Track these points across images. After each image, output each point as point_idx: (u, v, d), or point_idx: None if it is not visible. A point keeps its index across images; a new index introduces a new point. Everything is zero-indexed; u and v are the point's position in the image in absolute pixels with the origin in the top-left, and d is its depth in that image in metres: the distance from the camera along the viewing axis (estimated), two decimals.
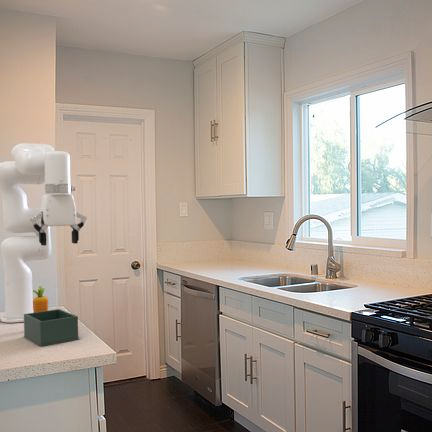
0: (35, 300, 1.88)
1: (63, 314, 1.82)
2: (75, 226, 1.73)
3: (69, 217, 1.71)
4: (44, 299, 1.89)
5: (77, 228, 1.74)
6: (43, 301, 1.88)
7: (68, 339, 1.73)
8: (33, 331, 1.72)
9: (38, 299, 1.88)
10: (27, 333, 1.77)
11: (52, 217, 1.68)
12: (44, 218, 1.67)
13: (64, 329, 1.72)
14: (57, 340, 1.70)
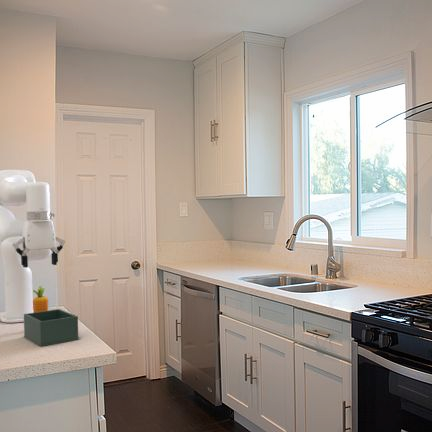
0: (35, 300, 1.88)
1: (63, 314, 1.82)
2: (54, 249, 1.91)
3: (49, 241, 1.89)
4: (44, 299, 1.89)
5: (56, 251, 1.92)
6: (43, 301, 1.88)
7: (68, 339, 1.73)
8: (33, 331, 1.72)
9: (38, 299, 1.88)
10: (27, 333, 1.77)
11: (33, 242, 1.86)
12: (25, 243, 1.85)
13: (64, 329, 1.72)
14: (57, 340, 1.70)
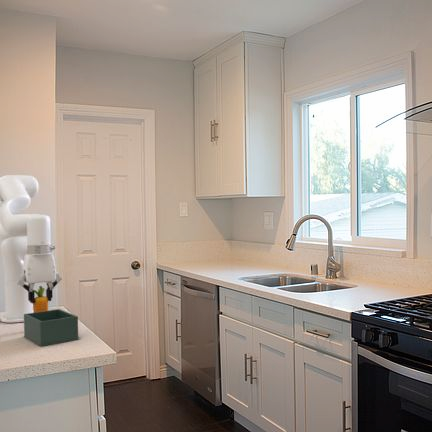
0: (35, 300, 1.88)
1: (63, 314, 1.82)
2: (50, 284, 1.91)
3: (49, 274, 1.90)
4: (44, 299, 1.89)
5: (51, 287, 1.91)
6: (43, 301, 1.88)
7: (68, 339, 1.73)
8: (33, 331, 1.72)
9: (38, 299, 1.88)
10: (27, 333, 1.77)
11: (33, 275, 1.86)
12: (26, 276, 1.85)
13: (64, 329, 1.72)
14: (57, 340, 1.70)
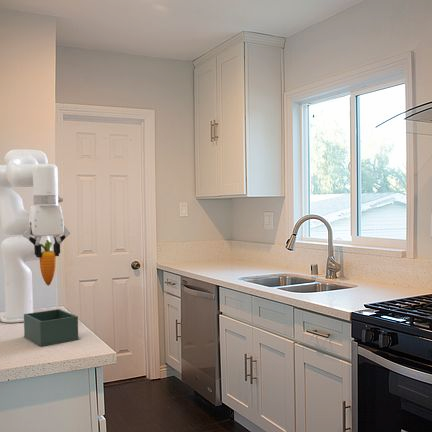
0: (42, 254, 1.76)
1: (63, 314, 1.82)
2: (58, 238, 1.79)
3: (57, 227, 1.78)
4: (51, 253, 1.77)
5: (59, 241, 1.79)
6: (50, 255, 1.76)
7: (68, 339, 1.73)
8: (33, 331, 1.72)
9: (45, 253, 1.76)
10: (27, 333, 1.77)
11: (40, 227, 1.74)
12: (32, 228, 1.73)
13: (64, 329, 1.72)
14: (57, 340, 1.70)
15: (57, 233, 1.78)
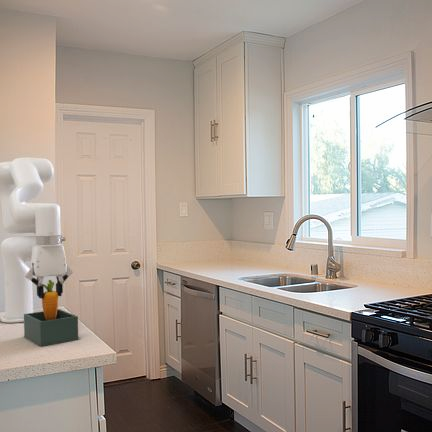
0: (44, 295, 1.74)
1: (63, 314, 1.82)
2: (60, 278, 1.77)
3: (59, 267, 1.76)
4: (54, 294, 1.75)
5: (61, 281, 1.78)
6: (53, 296, 1.75)
7: (68, 339, 1.73)
8: (33, 331, 1.72)
9: (48, 294, 1.74)
10: (27, 333, 1.77)
11: (43, 268, 1.73)
12: (35, 269, 1.72)
13: (64, 329, 1.72)
14: (57, 340, 1.70)
15: (60, 273, 1.77)
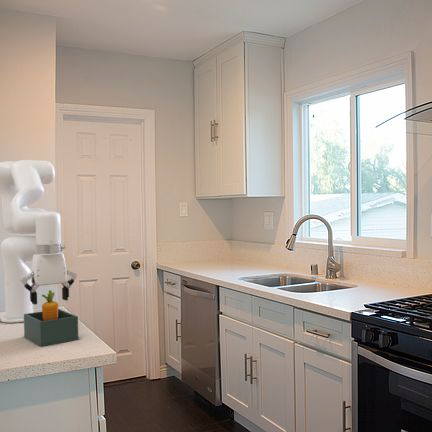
0: (44, 305, 1.75)
1: (63, 314, 1.82)
2: (65, 284, 1.79)
3: (59, 276, 1.76)
4: (54, 304, 1.76)
5: (67, 285, 1.79)
6: (53, 307, 1.75)
7: (68, 339, 1.73)
8: (33, 331, 1.72)
9: (48, 304, 1.75)
10: (27, 333, 1.77)
11: (43, 277, 1.73)
12: (35, 278, 1.72)
13: (64, 329, 1.72)
14: (57, 340, 1.70)
15: (60, 281, 1.77)
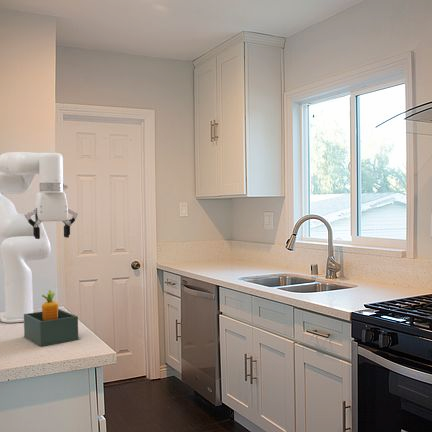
0: (44, 305, 1.75)
1: (63, 314, 1.82)
2: (67, 221, 1.89)
3: (61, 213, 1.86)
4: (54, 304, 1.76)
5: (69, 223, 1.89)
6: (53, 307, 1.75)
7: (68, 339, 1.73)
8: (33, 331, 1.72)
9: (48, 304, 1.75)
10: (27, 333, 1.77)
11: (45, 213, 1.83)
12: (38, 214, 1.82)
13: (64, 329, 1.72)
14: (57, 340, 1.70)
15: (61, 219, 1.87)
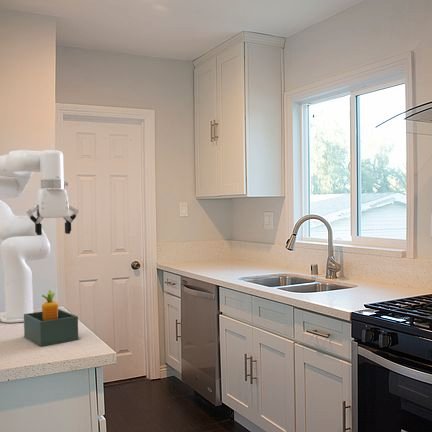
0: (44, 305, 1.75)
1: (63, 314, 1.82)
2: (68, 218, 1.92)
3: (62, 210, 1.89)
4: (54, 304, 1.76)
5: (70, 220, 1.92)
6: (53, 307, 1.75)
7: (68, 339, 1.73)
8: (33, 331, 1.72)
9: (48, 304, 1.75)
10: (27, 333, 1.77)
11: (47, 210, 1.86)
12: (40, 210, 1.85)
13: (64, 329, 1.72)
14: (57, 340, 1.70)
15: (63, 215, 1.90)
